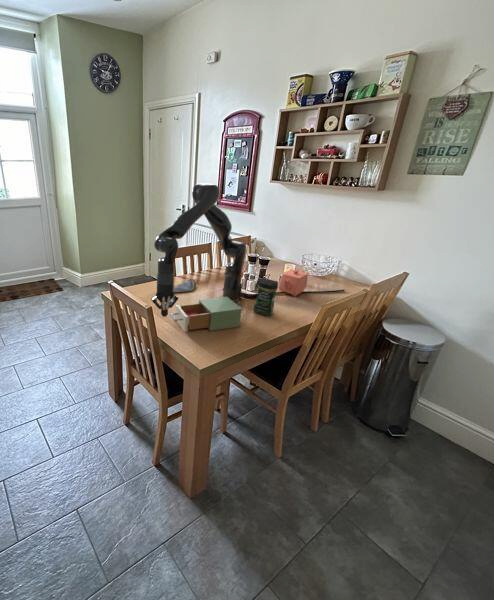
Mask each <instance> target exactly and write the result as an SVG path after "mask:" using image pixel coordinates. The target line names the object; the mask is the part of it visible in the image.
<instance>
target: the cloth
mask: <svg viewBox="0 0 494 600" xmlns="http://www.w3.org/2000/svg"><path fill="white" fill-rule="evenodd" d="M195 288H196V287H195V279H192V280H190V279H188V280H185V281H183V282H181V283H179V284H178V285H174V289H173V292H174V294H176V293H185V292H186V293H187V292H191V291H194V289H195Z"/></svg>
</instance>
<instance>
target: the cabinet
mask: <svg viewBox="0 0 494 600" xmlns="http://www.w3.org/2000/svg"><path fill="white" fill-rule="evenodd" d="M198 303H201V304H202V305H203V306H204V307H205V308H206V309H207V310H208V311H209V312H210V313H211V318H210V327H207V328H206V329H207V330H209V331H219V330H223V329H224V330H225V329H230V328H231V329H233V328H239V327H240V326H241V325H240V324H241V317H242V310H243V309H242V307H240V306H239V305H238V304H236V303H235V301H232V300H230V299H229V298H228V297H214V298H204V299H203V298H202V299H198Z"/></svg>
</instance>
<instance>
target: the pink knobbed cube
mask: <svg viewBox="0 0 494 600" xmlns="http://www.w3.org/2000/svg"><path fill="white" fill-rule="evenodd" d="M307 284H308V273H307V272H305V271H303V270H298V269H289V270H286V271H284V272H283V273H282V274H281V277H280V279H279V282H278V291H279V292H287V293H286V294H290V295H291V296H292V297H297V296H298V295H299V294H302V293H301V292H305V290H306V289H307Z"/></svg>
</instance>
